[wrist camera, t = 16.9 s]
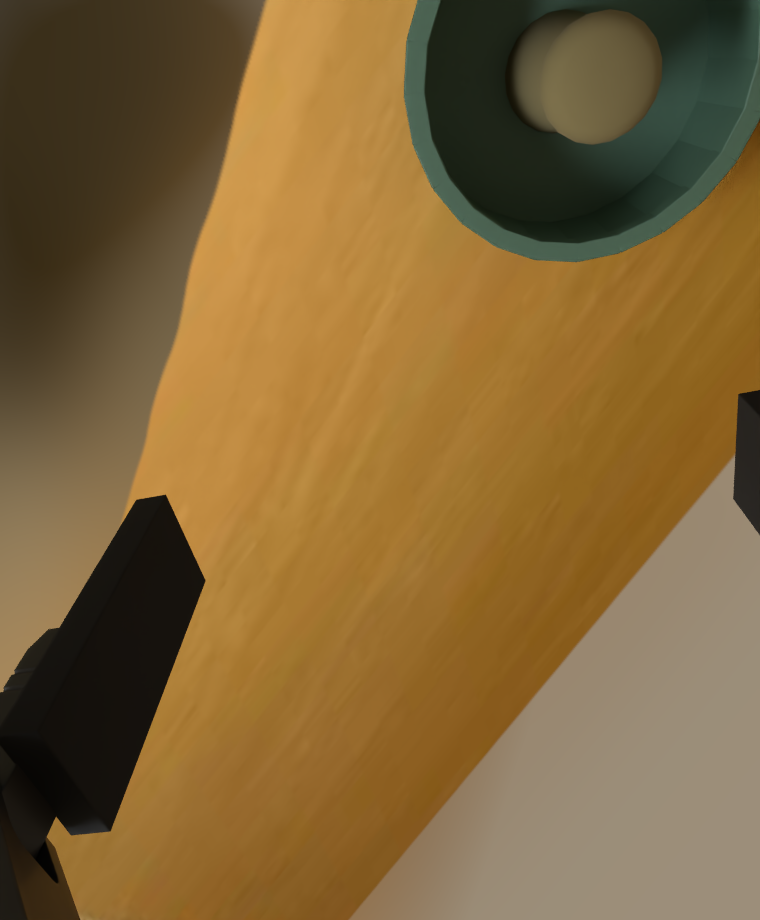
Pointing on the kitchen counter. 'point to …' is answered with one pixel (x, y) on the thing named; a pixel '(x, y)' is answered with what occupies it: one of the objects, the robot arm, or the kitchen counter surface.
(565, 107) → the cork
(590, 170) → the green round bowl
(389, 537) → the kitchen counter surface
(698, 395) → the kitchen counter surface
